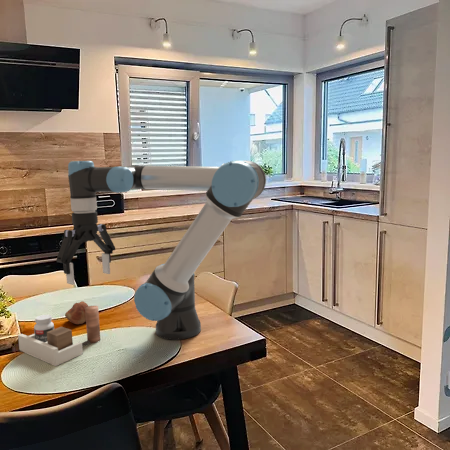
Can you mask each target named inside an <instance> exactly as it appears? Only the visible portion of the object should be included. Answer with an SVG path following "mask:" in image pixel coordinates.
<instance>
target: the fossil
mask: <svg viewBox="0 0 450 450" xmlns="http://www.w3.org/2000/svg"><path fill="white" fill-rule="evenodd" d="M88 306H89V304H88V303H86V301H83V300H82V301H80V302H75V303H73V305H72V306H71V308H70V309H69V310H68V311H66V312H65V314H64V315H65V318H66V319H67V320H68V321H69V322H71V323H72V324H74V325H82V324H84V323H86V315H85V308H86V307H88Z"/></svg>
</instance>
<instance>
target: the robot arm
mask: <svg viewBox="0 0 450 450" xmlns="http://www.w3.org/2000/svg"><path fill="white" fill-rule="evenodd" d="M67 166H68V167H67V169H68V170H67V172H68V175H67V178H68V185H69V195H70V198H69V199H70V209H71V211H72V213H71V222H72V226H73V229H65V230H63V240H62V242H61V245H60V248H59V251H58V254H57V257H56V260H55V261H56V263H61V264H63V265H62V267H63V273H64V275H65V276H66V278H65V279H66V284H68V285H75V275H74V274H75V273H74V263H73V262H72V260H73V258H74V256H75V254H77V253H76V252H77V251H78V250H79V248H80V246H81V245H83V243H87V242H94V244H96V246H98V248H100V250H101V251H102V252H103V253H101V261H102V274H106V275H110V274H111V267H110V265H111V262H112V260H111V259H112V258H111V256H112V254H113V253H114V251H115V250H116V246H115V244H114V243H113V241H112V239H111V237H110V235H109V232H108V231H107V225H106V224H104V223H98V222H99V220H98V211H97V209H98V205H97V204H98V202H97V194H96V193H118V194H119V193H127V192H130V191H131V190H156V191H157V190H158V191H159V190H160V191H162V190H163V191H168V190H169V191H194V192H195V191H196V192H197V191H199V192H206V193H205V198H206V202H205V204H204V205H203V206H202V208H201V209H200V210H199V212H198V214H197V215H196V216H195V218H194V220H193V221H192V222H191V224H190V225H189V227H188V228H187V230H186V231H185V233H184V235H183V236H182V237H181V239H180V240H179V242H178V243H177V245H176V246H175V248H174V249H173V251H172V253H171V254H170V256H169V257H168V258H167V259H166V261H165V263H162V264H159V265H156V267H155V268H154V270H153V271H152V273H151V274H150V276H149V277H148V278H147V280H146V281H145V282H144V283H142V284H140V286H138V288H137V289H136V290H135V293H134V296H133V298H134V299H133V301H134V303H135V309H136V310H137V312H138V313H139V314H140V315H141V316H142V317H143V318H144V319H147V320H149V321H153V322H156V324H155V334H156V336H158V337H159V338H162V339H165V340H170V341H171V340H174V341H176V340H177V341H178V340H185V339H186V340H187V339H190V338H193V337H195V336H197V335H198V334H200V333H201V331H202V327H201V326H202V324H201V321H200V319H199V315H198V313H197V310H196V298H195V297H196V296H195V276H196V275H195V273H196V271H197V269H198V268H199V266H200V265H201V263H202V262H203V261H204V259H206V256H207V255H208V254H209V252H210V251H211V250H212V248H213V246H214V245H215V244H216V242H217V241H218V240H219V239H220V237H221V235H222V234H223V232H224V231H225V230H226V228H227V227H228V225H229V224H230V223H231V221H232V220H233V219H239V218H241V217H242V215H243V214H244V212H245V211H246V209H247V208H248V207H249V205H250V204H251V202H252V201H253V200H255V199H256V198H258V197H259V196H260V195H261V194H262V193H263V191H264V190H265V187H266V184H267V183H266V182H267V179H266V177H267V176H266V174H265V171H264V169H263V168H262V167H261V166H260V165H259V163H257V162H254V161H252V160H230V161H228V162H226V163H225V162H224V163H222V164H221V165H220V166H196V165H195V166H193V165H192V166H191V165H190V166H189V165H188V166H187V165H186V166H184V165H183V166H181V165H178V166H177V165H175V166H174V165H173V166H172V165H168V166H167V165H165V166H164V165H133V164H132V165H127V166H125V165H124V166H123V165H122V166H121V165H120V166H104V167H97V166H95V163H94V161H92V160H76V161H75V160H73V161H72V160H71V161H70V162H68V165H67ZM98 233H99V234H98ZM99 235H100V236H101V237H100V236H99Z"/></svg>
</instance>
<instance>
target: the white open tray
mask: <svg viewBox="0 0 450 450" xmlns="http://www.w3.org/2000/svg"><path fill="white" fill-rule="evenodd" d="M17 338H18V347H19V351H20V352H23V353H25V354H27V355H30V356H32V357H34V358H36V359H38V360H41V361H43V362H45V363H48V364H49V365H52V366H54V367H57V366H60V365H62V364H64V363H66V362H68V361H70V360H72V359H74V358H76V357H79V356H81V355H84V354H83V353H84V352H83V351H84V349H83V346H82V343H83V342H81V341H79V342H78V341H77V342H76V343H74V344H73V345H71V346H69V347H66V348H64V349H62V350H59V351H58V348H57V347H54V346H52V345H49V344H48V341H47V342H42V341H39V340H37V339H35V334H34V333H32V334H30V335H26V334H23V333H19V334H18V335H17Z"/></svg>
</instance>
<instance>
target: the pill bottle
mask: <svg viewBox="0 0 450 450" xmlns="http://www.w3.org/2000/svg"><path fill="white" fill-rule="evenodd" d="M52 318H53V317H52V315H51V314H41V315H37V316H36V317H34V323H36V324H34V326H33V331H34V333H33V334H35V339H37V340H39V341H42V342H47V332H48V331H51V330H54V329H55V325H54V322H53V321H52V320H53V319H52Z"/></svg>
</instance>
